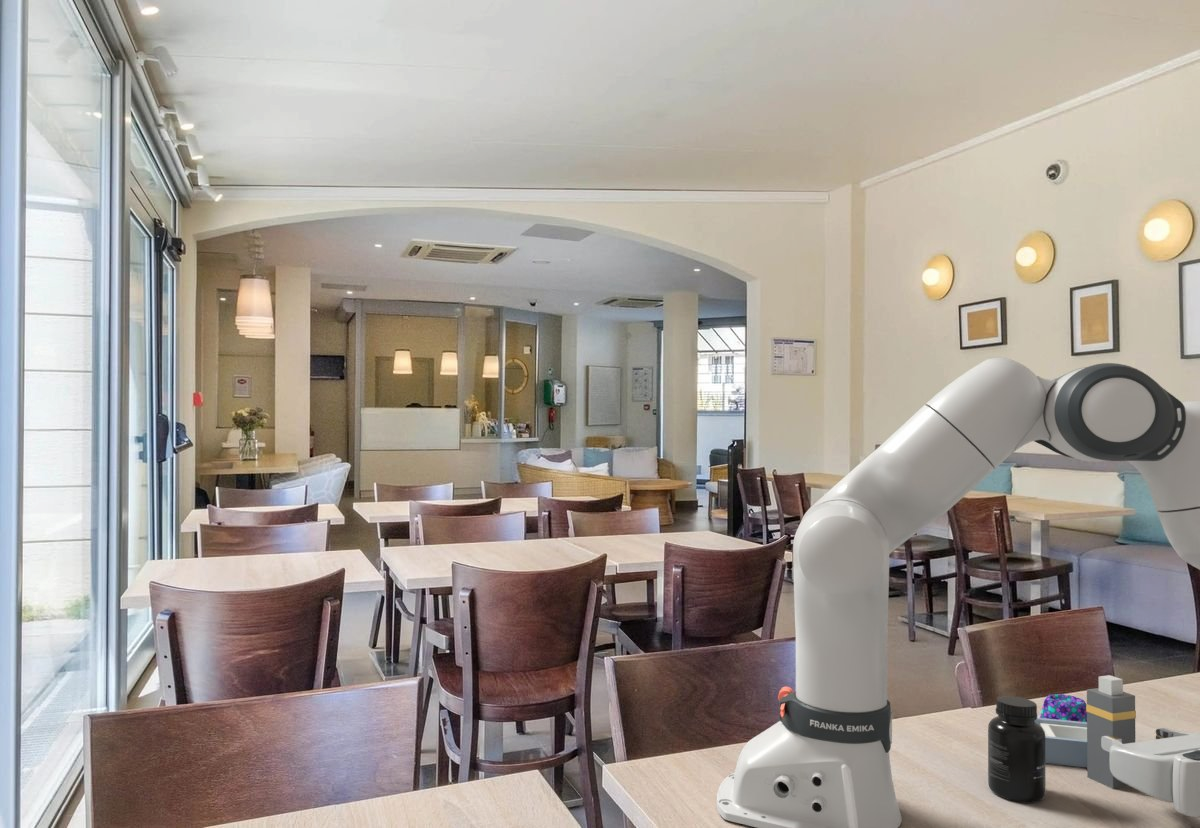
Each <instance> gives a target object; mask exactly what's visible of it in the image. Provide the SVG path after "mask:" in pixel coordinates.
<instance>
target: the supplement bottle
mask: <svg viewBox="0 0 1200 828" xmlns="http://www.w3.org/2000/svg"><path fill="white" fill-rule="evenodd" d="M995 704H996V705H995V706H996V708H995V714H996V715H997V716H996V717H993V718H992V719H991V720H990V721H989V723H988V726H987V760H988V761H987V783H988V787H989V790H991V792H992V793H994V794H995V795H997V796H999V797H1001V798H1003V799H1006V800H1008V801H1009V800H1010V801H1013V802H1019V803H1029V804H1030V803H1037V802H1040V801H1042V800H1043V799H1044V798H1045V797H1046V781H1047V779H1046V763H1045V732H1044V730H1043V728H1042V727H1041V726H1040V725H1039V724H1038V723H1037V722H1035V720H1036V719H1037V715H1038V712H1037V711H1038V709H1037V708H1038V707H1037V703H1036V702H1035V701H1033V700H1031V699H1029V698H1025V697H1024V698H1023V697H1018V696H1010V695H1009V696H1008V695H1006V696H1005V695H1004V696H999V697H997V698H996V703H995Z"/></svg>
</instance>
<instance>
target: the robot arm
mask: <svg viewBox="0 0 1200 828" xmlns="http://www.w3.org/2000/svg"><path fill="white" fill-rule="evenodd" d="M1032 442H1035V443H1037V444H1039V445H1041V446H1042V447H1045V448H1047V449H1048V450H1051V451H1052V452H1054V453H1056V454H1059V455H1061V456H1064V457H1066V458H1067V457H1068V458H1072V459H1077V460H1080V461H1084V462H1090V463H1091V462H1092V463H1099V462H1100V463H1102V462H1128V463H1129V464H1131V465H1132V466H1133V467H1134V468H1135V469H1136V470H1137V471H1138V473H1139V474H1140V475H1141V477H1142V478H1143V480H1144V482H1145V483H1146V484H1147V486H1148V489H1149V493H1150V496H1151V499H1152V502H1153V504H1154V508H1155V510H1156V512H1157V516H1158V517H1159V521H1160V524H1161V526H1162V529H1163V532H1164V535H1165V536H1166V539H1167V540H1168V542H1169V543H1170V545H1171V547H1172V548H1173V549H1174V551H1175V552H1176V554H1177V555H1178V557H1179V558H1181V559H1182V560H1183V561H1185V562H1186V563H1187V564H1189V565H1191V566H1192V567H1194V568H1196V569H1197V570H1199V571H1200V400H1186V401H1180V400H1179V399H1178V398H1176V396H1174V395H1173V394H1172V393H1170V392H1169V391H1168V390H1166V389H1165V388H1164V387H1162V386H1161V385H1160V384H1159V383H1158V382H1157V381H1155V380H1154V378H1152V377H1151V376H1150V375H1148V374H1147V373H1145V372H1143V371H1142V370H1141V369H1140V370H1139V369H1138V368H1136V367H1134V366H1133V367H1132V366H1130V365H1126V364H1122V363H1115V362H1114V363H1113V362H1105V363H1097V364H1093V365H1089V366H1085V367H1079V368H1076V369H1074V370H1071V371H1068V372H1066V373H1063V374H1061V375H1058V376H1056V377H1053V378H1048V379H1047V378H1043V377H1041V376H1039V375H1038V376H1037V375H1036V374H1035V372H1033V371H1032V370H1031V369H1030V368H1029V367H1027V366H1026V365H1024V364H1022V363H1020V362H1018V361H1015V360H1013V359H1010V358H1006V357H991V358H988V359H984V360H983V361H982V362H979V363H978V364H977V365H975V366H973V367H972V368H970V369H969V370H967V371H965V372H964V373H963V374H961V375H960V376H958V377H956V379H954V380H953V381H952V382H950V383H949V384H947V385H946V386H945V387H944V388H942V389H941V390H940V391H939V392H937V393H936V394H935V395H934V396H933V397H932V398H930V399H929V400H928V401H927V402H926V403H925V404H924V405H923V406H921V408H919V409H918V410H917V411H916V412H915V413H914V414H913V415H912V416H911V417H910V418H909V419H907V420H906V421H905V422H904V423H903V424H902V425H901V426H899V428H898V429H897V430H896V431H895V432H893V433H892V434H891V435H890V436H889V437H888V438H886V440H885V441H884V442H883V443H881V445H879V446H878V447H877V448H876V449H874V451H872V452H871V453H869V455H868V456H866V458H865V459H863V460H862V461H861V462H860V463H858V464H857V466H855V467H854V468H853V469H852V470H851V471H850V472H849V473H847V474H846V475H845V476H843V478H842V479H841V480H840V481H838V482H837V483H836V484H835V485H833V486H832V488H830V489H829V490H828V491H827V492H826V493H825V494H824V495H822V497H820V498H819V499H818V500H817V501H816V502H815V503H814V504H812V506H810V507H809V508H808V509H807V510H806V512H805V513H804V515H803V517H802V519H801V520H800V522H799V525H798V527H797V529H796V532H795V534H794V538H793V543H792V554H793V555H792V566H793V569H792V571H793V600H794V601H793V604H794V605H793V606H794V623H795V624H794V627H795V690H793V688H791V687H790V686H783V687H781V689H779V692H778V697H777V699H778V701H779V705H778V717H779V718H778V719H779V721H777V722H776V723H774V724H773V725H770V727H768V728H766V729H765V730H763V731H762V732H761V733H759V734H757V735H756V736H754V737H752V738H751V739H750V740H748V742H747V743H746V744H745V745H744V746H743V747H742V748H741V749H742V750H741V751H740V753H739V755H738V758H737V762H736V766H735V770H734V772H732V773H730V774H728V775H727V776H726V777H725V778H724V779H723V780H722V782H721V783H720V785H719V788H718V789H717V794H716V802H715V804H716V809H717V813H718V814H719V815H720V816H721V818H723V820H726V821H729V822H732V823H736V824H742V825H745V826H749V827H754V828H899V827H900V825H901V824H902V820H903V819H902V813H901V810H900V807H899V804H898V801H897V796H896V792H895V788H894V781H893V774H892V768H891V759H890V757H891V756H890V750H891V747H892V743H893V712H892V707H891V702H890V701H889V700H888V625H889V624H888V623H889V588H890V585H889V583H890V555H891V553H892V552H894V551H895V550H896V549H897V548H899V547H900V546H902V545H903V544H904V543H906V541H908V540H909V539H911V538H912V537H913V536H914V535H916V534H917V533H918V532H920V531H921V530H922V529H924V528H925V527H927V526H928V525H930V524H931V523H932V522H934V521H935V520H937V519H939V518H940V517H942V516H944V515H945V514H946V513H947V512H948V511H949V510H951V509H952V508H953V507H954V506H955V505H956V504H957V503H958V502H959V501H961V500H962V499H963V498H964V497H965V496H966V495H967V494H969V493H970V492H971V491H972V490H973V489H975V488H976V486H978V485H979V484H980V483H981V482H983V480H984V479H985V478H987V477H988V476H989V475H990V474H991V473H992V472H994V470H995V469H997V468H998V467H999V466H1000V465H1001V464H1002V463H1003V462H1004V461H1005V460H1006V459H1007V458H1008V457H1009V456H1010V455H1012V454H1013V453H1015V452H1016V451H1018V450H1019V449H1020V448H1022V447H1023V446H1025V445H1028V444H1030V443H1032ZM1155 734H1156V735H1155V739H1149V740H1143V741H1142V740H1141V741H1135V742H1134V743H1127V744H1122V739H1121V738H1118V737H1115V736H1113V735H1110V736H1102V738H1101V747H1102V749H1103V750H1105V751H1108V752H1110V754H1109V764H1110V771H1111V773H1112V775H1113V776H1114V777H1115V778H1116V779H1118V780H1119V781H1121V782H1123V783H1125V784H1127V785H1129V786H1128V787H1131V788H1132V789H1135V790H1137V791H1139V792H1141V793H1142V794H1145V795H1147V796H1150V797H1152V798H1154V799H1156V800H1160V801H1163V802H1168V803H1173V809H1174V810H1175V811H1176V812H1178V813H1179V814H1182V815H1185V816H1187V817H1194V818H1196V817H1198V818H1199V817H1200V732H1199V733H1193V732H1192V733H1191V732H1184V731H1178V730H1177V731H1176V730H1173V729H1171V728H1168V727H1163V728H1157V729H1156V730H1155Z"/></svg>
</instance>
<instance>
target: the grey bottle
mask: <svg viewBox="0 0 1200 828" xmlns="http://www.w3.org/2000/svg"><path fill="white" fill-rule="evenodd" d="M1123 684H1124V679H1123V678H1119V677H1116V676H1114V675H1110V674H1107V675H1101V676H1098V687H1097V688H1088V689H1086V711H1087V769H1086V770H1087V771H1086V772H1087V773H1086V774H1087V775H1086V776H1087V778H1089V779H1091V780H1093V781H1095V782H1097V783H1099V784H1102V785H1103V786H1106V787H1108V788H1111V789H1112V790H1114V789H1122V788H1126V787H1130V786H1129V785H1127V784H1125V783H1123V782H1121V781H1119V780H1118V779H1116V778H1115V777H1114V776H1113V775H1112V773H1111V771H1110V764H1109V754H1110V752H1108V751H1105V750H1103V749H1102V747H1101V738H1102V736H1110V735H1113V736H1115V737H1118V738H1121V739H1122V744H1127V743H1134V742H1136V719H1137V711H1136V695H1134V694H1131V693H1129V692H1125V691H1123V690H1124V686H1123Z"/></svg>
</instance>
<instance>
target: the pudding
mask: <svg viewBox="0 0 1200 828" xmlns="http://www.w3.org/2000/svg"><path fill="white" fill-rule="evenodd" d="M1086 704H1087V702H1086V701H1085V700H1084V699H1082V698H1081V697H1076V696H1074V695H1067V694H1062V693H1056V694H1048V695H1047V696H1046V697H1045V699H1044V700H1043V704H1042V708H1041V712H1040V714H1037V718H1047V719H1057V720H1068V721H1078V722H1087V711H1086Z"/></svg>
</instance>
